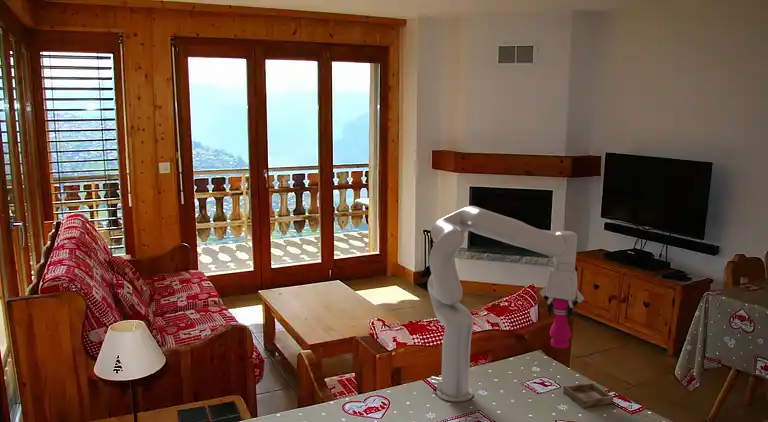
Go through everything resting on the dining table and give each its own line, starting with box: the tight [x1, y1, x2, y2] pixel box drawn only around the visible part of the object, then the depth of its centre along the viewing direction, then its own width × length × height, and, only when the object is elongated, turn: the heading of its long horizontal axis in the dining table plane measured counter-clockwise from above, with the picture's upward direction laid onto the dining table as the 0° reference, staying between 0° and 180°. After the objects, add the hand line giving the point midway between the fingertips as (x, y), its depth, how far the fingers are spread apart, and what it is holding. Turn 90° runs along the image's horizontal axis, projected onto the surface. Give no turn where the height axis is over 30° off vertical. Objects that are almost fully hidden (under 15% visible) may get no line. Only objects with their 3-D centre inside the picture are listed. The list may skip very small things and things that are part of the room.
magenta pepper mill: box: [549, 298, 572, 349], centre depth 212 cm, size 7×7×20 cm
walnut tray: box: [563, 382, 614, 409], centre depth 205 cm, size 12×12×3 cm
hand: (559, 315), depth 212 cm, fingers closed on magenta pepper mill, 5 cm apart
